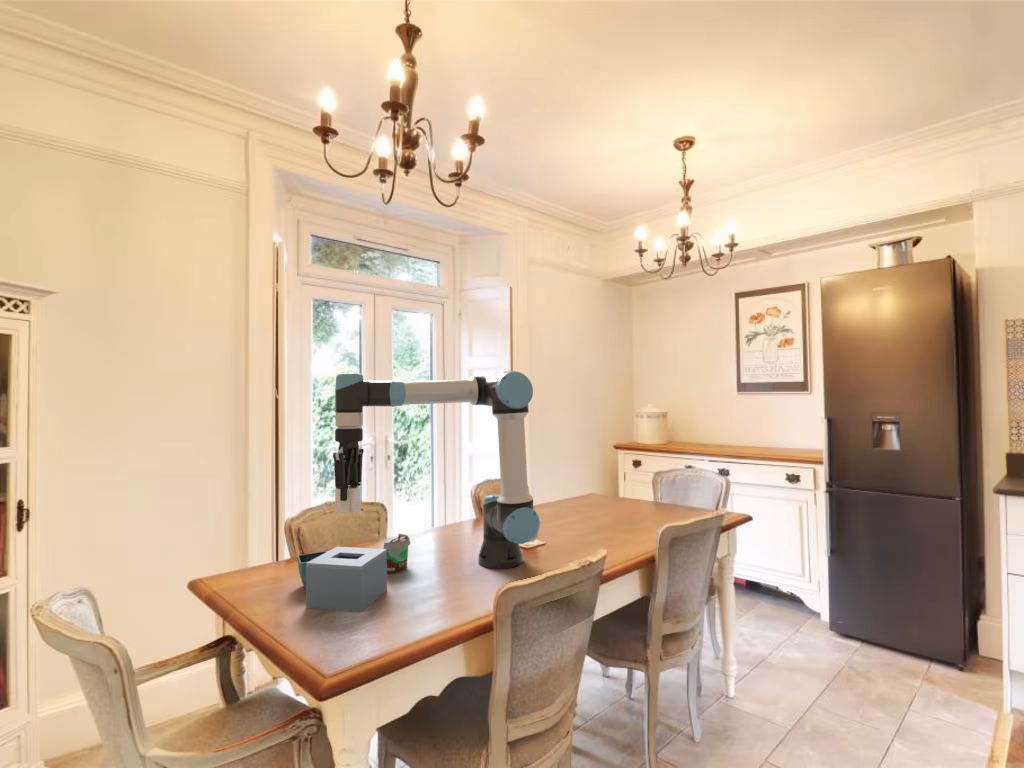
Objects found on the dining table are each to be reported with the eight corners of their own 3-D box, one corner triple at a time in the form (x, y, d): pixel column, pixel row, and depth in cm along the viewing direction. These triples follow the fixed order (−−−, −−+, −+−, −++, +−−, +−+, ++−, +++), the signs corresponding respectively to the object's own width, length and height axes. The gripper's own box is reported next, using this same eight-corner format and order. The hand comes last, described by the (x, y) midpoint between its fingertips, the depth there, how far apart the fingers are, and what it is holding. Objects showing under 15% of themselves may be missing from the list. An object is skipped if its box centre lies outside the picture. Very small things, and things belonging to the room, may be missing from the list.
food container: (401, 575, 167) (401, 544, 168) (383, 574, 169) (383, 543, 169) (416, 563, 180) (416, 534, 180) (399, 562, 181) (399, 533, 181)
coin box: (386, 590, 155) (386, 549, 155) (360, 612, 139) (360, 566, 139) (337, 586, 158) (337, 546, 158) (306, 607, 142) (306, 562, 142)
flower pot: (299, 594, 152) (299, 562, 153) (296, 584, 160) (296, 554, 160) (331, 588, 156) (331, 558, 157) (327, 579, 164) (327, 550, 164)
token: (359, 511, 150) (360, 486, 150) (354, 513, 147) (355, 488, 147) (340, 510, 151) (341, 485, 151) (335, 512, 148) (335, 487, 149)
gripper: (350, 425, 158) (350, 504, 158) (321, 428, 143) (320, 516, 142) (374, 426, 157) (373, 505, 156) (346, 429, 141) (346, 517, 141)
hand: (348, 510), depth 149 cm, fingers closed on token, 3 cm apart
